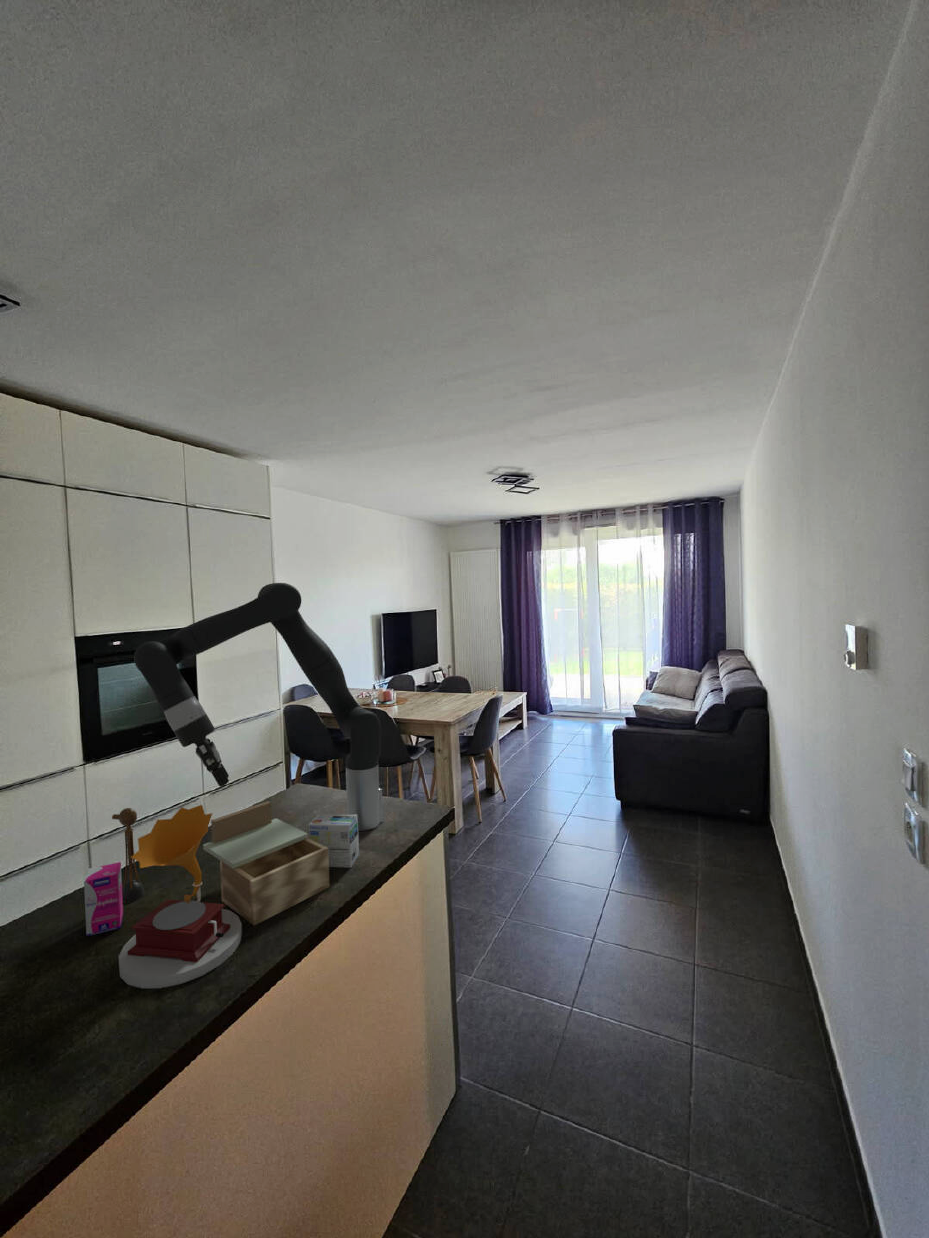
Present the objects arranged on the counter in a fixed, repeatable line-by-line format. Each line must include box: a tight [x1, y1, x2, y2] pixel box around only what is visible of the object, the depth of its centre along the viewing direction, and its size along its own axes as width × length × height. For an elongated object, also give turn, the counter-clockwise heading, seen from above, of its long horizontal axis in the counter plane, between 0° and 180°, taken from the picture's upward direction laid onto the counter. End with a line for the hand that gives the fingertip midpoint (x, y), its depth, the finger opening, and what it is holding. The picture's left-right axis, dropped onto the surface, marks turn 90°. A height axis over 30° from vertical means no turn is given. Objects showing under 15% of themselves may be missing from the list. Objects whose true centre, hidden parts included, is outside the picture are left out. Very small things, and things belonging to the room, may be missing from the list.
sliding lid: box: [202, 800, 309, 869], centre depth 124 cm, size 18×14×6 cm
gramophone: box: [118, 804, 243, 989], centre depth 100 cm, size 20×20×25 cm
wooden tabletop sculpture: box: [111, 807, 146, 903], centre depth 119 cm, size 6×5×20 cm
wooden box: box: [219, 837, 330, 926], centre depth 119 cm, size 18×14×9 cm
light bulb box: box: [307, 813, 360, 869], centre depth 133 cm, size 11×7×11 cm, turn 84°
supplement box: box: [83, 862, 124, 937], centre depth 108 cm, size 6×6×12 cm
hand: (224, 781), depth 124 cm, fingers open, 8 cm apart
